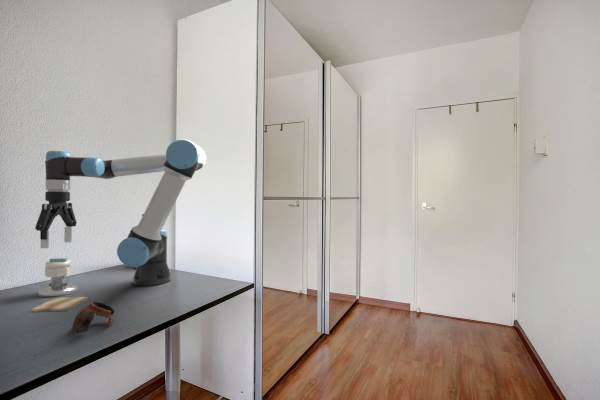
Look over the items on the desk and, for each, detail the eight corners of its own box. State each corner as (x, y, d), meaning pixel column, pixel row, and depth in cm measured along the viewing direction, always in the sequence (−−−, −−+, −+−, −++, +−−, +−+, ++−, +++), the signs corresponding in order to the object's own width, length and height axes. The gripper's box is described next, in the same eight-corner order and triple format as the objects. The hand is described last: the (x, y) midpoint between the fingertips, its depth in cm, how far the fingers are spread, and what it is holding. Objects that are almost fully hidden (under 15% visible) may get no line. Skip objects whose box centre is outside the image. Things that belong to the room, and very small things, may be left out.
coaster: (87, 298, 111) (87, 296, 111) (68, 310, 100) (68, 307, 100) (54, 300, 110) (54, 297, 110) (31, 311, 99) (31, 309, 99)
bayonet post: (84, 286, 125) (83, 263, 125) (65, 296, 113) (65, 270, 113) (52, 287, 124) (52, 263, 123) (30, 297, 112) (30, 271, 111)
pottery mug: (77, 324, 91) (94, 298, 93) (107, 337, 91) (123, 310, 94) (55, 331, 79) (75, 301, 82) (89, 346, 80) (108, 315, 83)
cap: (75, 271, 123) (75, 256, 123) (62, 276, 115) (62, 260, 115) (54, 272, 122) (54, 256, 122) (40, 277, 114) (40, 261, 114)
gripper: (67, 191, 130) (67, 240, 130) (22, 190, 105) (21, 251, 105) (86, 191, 131) (86, 240, 131) (45, 190, 106) (45, 250, 106)
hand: (57, 245), depth 118 cm, fingers open, 13 cm apart
